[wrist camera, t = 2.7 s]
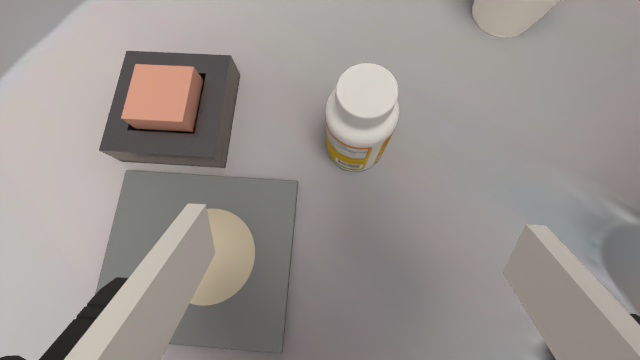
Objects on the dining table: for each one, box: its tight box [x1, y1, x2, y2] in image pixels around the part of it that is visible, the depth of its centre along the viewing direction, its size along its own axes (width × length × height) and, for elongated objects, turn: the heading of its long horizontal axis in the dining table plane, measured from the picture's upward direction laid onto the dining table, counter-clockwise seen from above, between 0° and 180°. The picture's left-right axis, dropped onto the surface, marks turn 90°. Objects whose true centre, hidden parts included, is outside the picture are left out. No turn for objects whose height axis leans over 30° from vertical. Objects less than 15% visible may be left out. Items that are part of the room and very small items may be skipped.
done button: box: [121, 64, 203, 132], centre depth 26 cm, size 5×5×2 cm
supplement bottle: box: [325, 63, 399, 171], centre depth 23 cm, size 5×5×10 cm
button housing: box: [99, 51, 240, 168], centre depth 28 cm, size 10×10×3 cm
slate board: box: [95, 170, 298, 354], centre depth 26 cm, size 16×14×1 cm
